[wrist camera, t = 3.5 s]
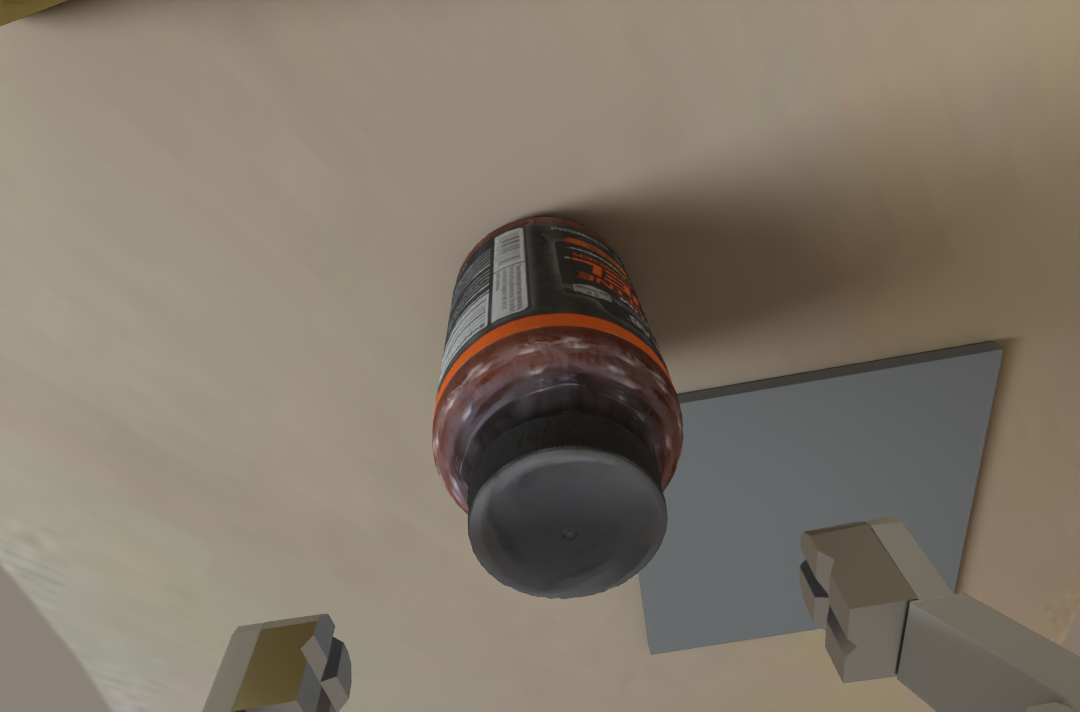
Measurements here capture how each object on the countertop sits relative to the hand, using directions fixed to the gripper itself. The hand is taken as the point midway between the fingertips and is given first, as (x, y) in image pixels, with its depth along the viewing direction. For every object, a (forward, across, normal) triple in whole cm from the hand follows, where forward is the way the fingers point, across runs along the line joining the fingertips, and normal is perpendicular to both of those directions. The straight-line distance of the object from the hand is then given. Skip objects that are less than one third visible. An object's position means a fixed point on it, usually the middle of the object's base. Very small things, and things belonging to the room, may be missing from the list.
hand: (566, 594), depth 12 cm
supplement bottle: (+13, 0, +1) cm, 13 cm away
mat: (+13, -9, +13) cm, 20 cm away
